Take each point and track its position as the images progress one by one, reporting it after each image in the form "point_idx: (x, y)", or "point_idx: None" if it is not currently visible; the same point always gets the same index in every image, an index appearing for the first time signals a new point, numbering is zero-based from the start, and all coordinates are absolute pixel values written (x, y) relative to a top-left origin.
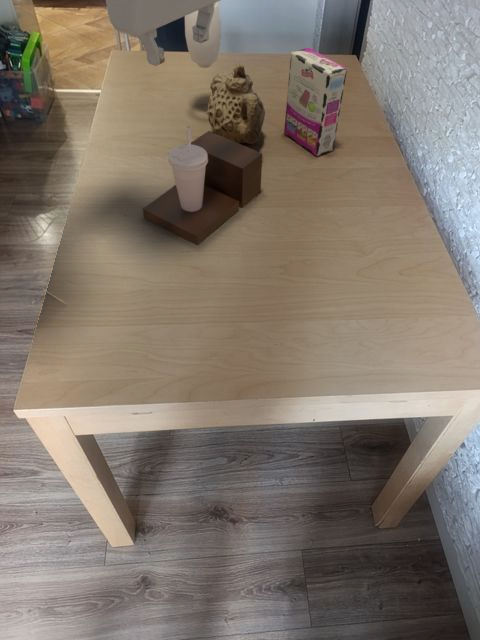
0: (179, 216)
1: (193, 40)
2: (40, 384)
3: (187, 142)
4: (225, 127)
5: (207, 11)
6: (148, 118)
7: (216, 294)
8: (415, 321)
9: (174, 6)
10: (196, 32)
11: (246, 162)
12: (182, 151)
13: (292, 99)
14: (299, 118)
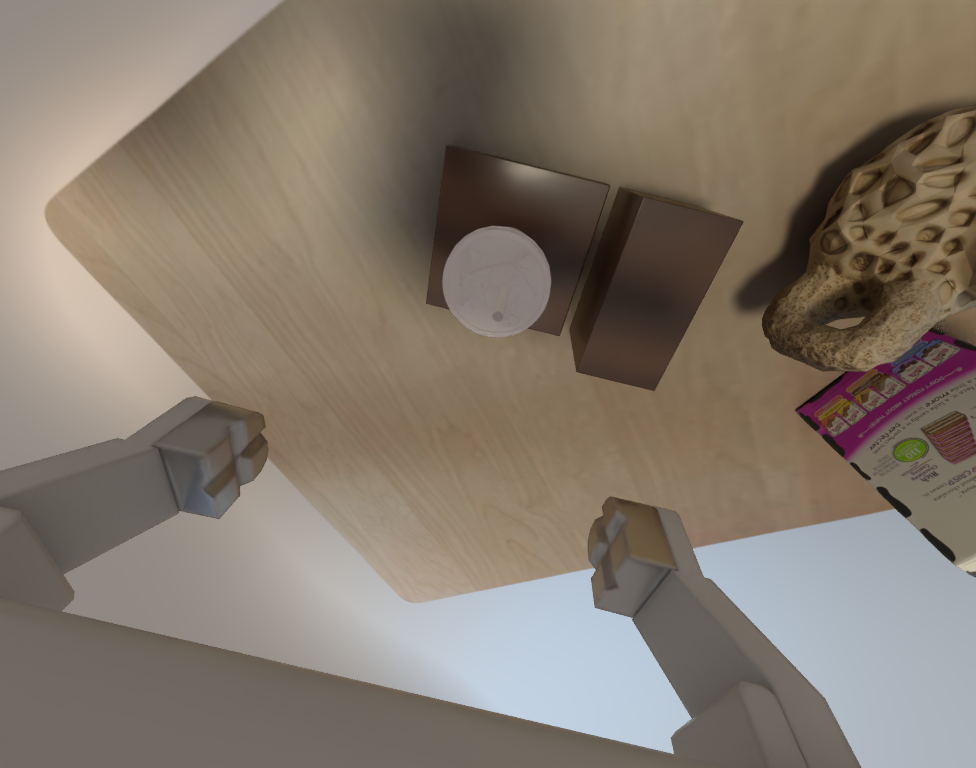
0: None
1: None
2: (69, 216)
3: (498, 296)
4: (831, 226)
5: (673, 749)
6: None
7: (353, 366)
8: (442, 554)
9: None
10: (611, 553)
11: (603, 371)
12: (498, 270)
13: None
14: (910, 393)
